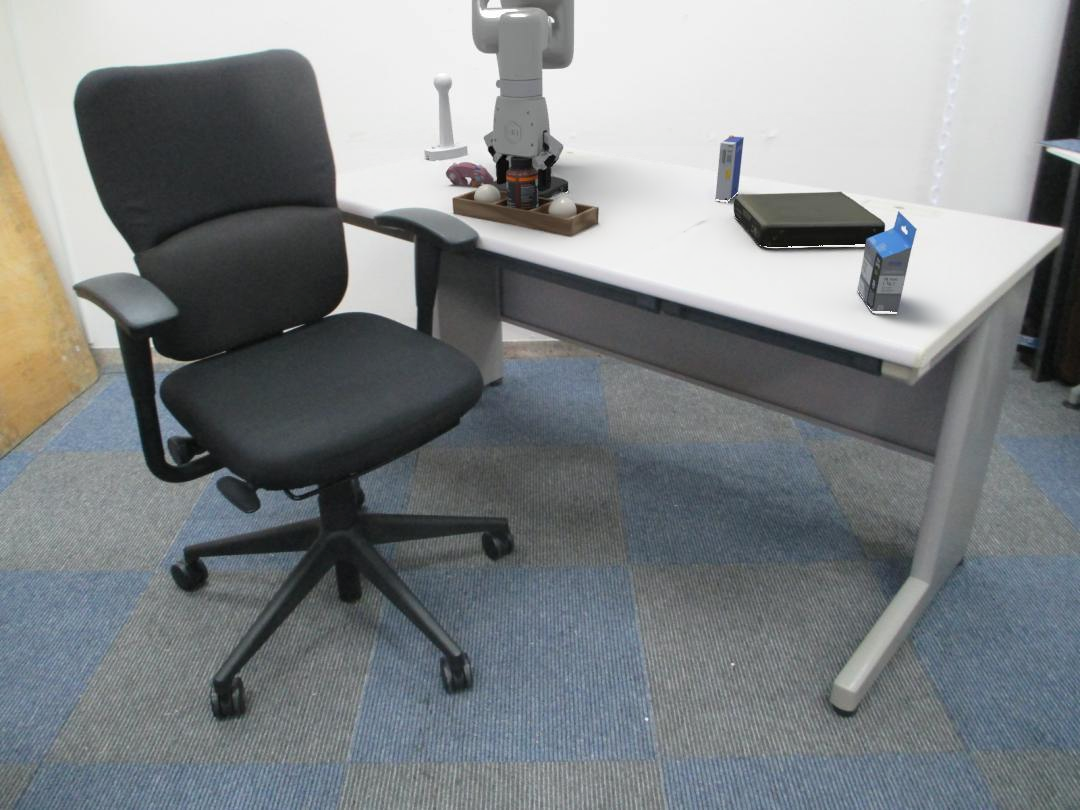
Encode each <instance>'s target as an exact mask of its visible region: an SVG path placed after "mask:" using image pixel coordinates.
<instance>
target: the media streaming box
mask: <svg viewBox="0 0 1080 810" xmlns="http://www.w3.org/2000/svg"><path fill="white" fill-rule="evenodd" d="M490 185H493V186H495V187H496V188H497V189H498V190H501V191H507V184H506V183H504V184H501V185H499V184H497V179H496V180H494V182H492V183H491V184H490ZM567 191H568V192H569V182H568V180H566V179H563V178H560V177H557V176H553V175H551V187H550V189H547V190H545V191H542V192H541V191H539V190H538V197H542V198H548V199H551V198H552V197H554V196H556V195H559V194H560V193H562V194H563V193H565V192H567ZM565 194H566V193H565Z"/></svg>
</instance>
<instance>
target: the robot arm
mask: <svg viewBox="0 0 1080 810" xmlns="http://www.w3.org/2000/svg"><path fill="white" fill-rule="evenodd" d="M489 2H490V0H471V35H472V41H473V44H474V45H475V48H476V49H477V50H478V51H479V52H481V53H482V54H490V55H491V54H495V55H496V62H497V67H498V74H499V75H498V77H499V79H497V80H496V81H495V82H496V83H495V87H496V88H497V89H499V93H500V95H498V96H496V100H495V103H494V104H495V105H494V112H493V121H492V122H493V126H492V131H490V132H489V133H487V134H485V135H484V136H483V141H484V143H485V146H486V148H487V152H488V153H489V154H490V155H491V157H492V161H493V163H495V176H496V180H497V184H499V185H501V184H504V183H506V172H507V170H508V169H509V168H510V167H511V157H513V156H517V157H524V158H532V162H533V163H532V165H533V168H535V169H536V170H537V172H538V190H539V191H541V192H542V191H545V190H547V189H550V187H551V176H552V168H554V166H555V164H556V163H557V162H558V161H559V160H560V156H561V153H562V152H563V150H564V144H562V143H561V142H560V141H558V140H557V138H555V137H554V136H553V135H551V131H550V130H551V129H550V121H549V119H550V118H549V111H548V110H549V109H548V105H547V100H546V97H544V96H543V94H544V93H543V89H544V88H543V70H562V69H566V68H568V67H570V66H571V65H572V62H573V60H574V54H575V53H574V51H575V0H500V2H499V3H500V6H501V7H488V4H489ZM551 18H552V20H553V22H552V20H551Z"/></svg>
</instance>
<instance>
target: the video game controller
mask: <svg viewBox="0 0 1080 810" xmlns="http://www.w3.org/2000/svg"><path fill="white" fill-rule="evenodd" d="M445 176H446V177H447V179H448V180H449V181H450V182H451V184H453V185H455V184H456V185H462V186H467V185H468V184H469V185H470V186H472V187H480V186H482V185H485V184H491V183H492V182H494V181H495V180H494V176H492V175H491V174H490V173H489V171H488V170H487V168H485V167H483V165H481V164H478V165H477V164H476V163H472V162H468V161H463V162H460V163H457V162H453V163H452V165H450V166H449V167H448V168H447V170H446V171H445ZM468 178H469V179H470V182H469V181H468Z"/></svg>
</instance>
